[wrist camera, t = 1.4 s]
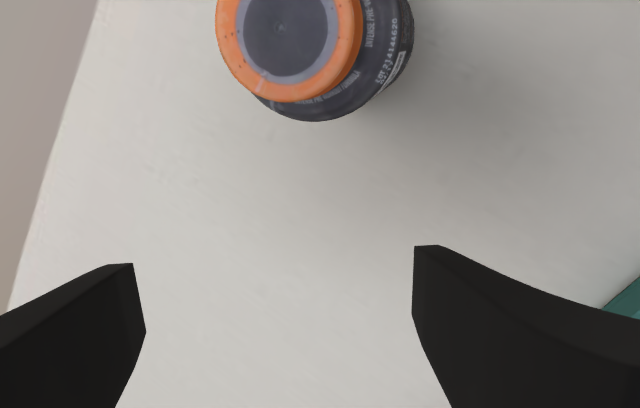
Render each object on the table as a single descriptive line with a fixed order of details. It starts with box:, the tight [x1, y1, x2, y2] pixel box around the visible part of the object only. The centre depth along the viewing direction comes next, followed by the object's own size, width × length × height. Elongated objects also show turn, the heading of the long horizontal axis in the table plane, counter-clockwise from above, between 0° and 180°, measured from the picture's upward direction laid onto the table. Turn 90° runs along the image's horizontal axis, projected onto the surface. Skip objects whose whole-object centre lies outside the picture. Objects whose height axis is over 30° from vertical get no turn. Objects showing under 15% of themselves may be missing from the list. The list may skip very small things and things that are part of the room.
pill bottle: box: [215, 0, 414, 122], centre depth 16 cm, size 6×6×11 cm
